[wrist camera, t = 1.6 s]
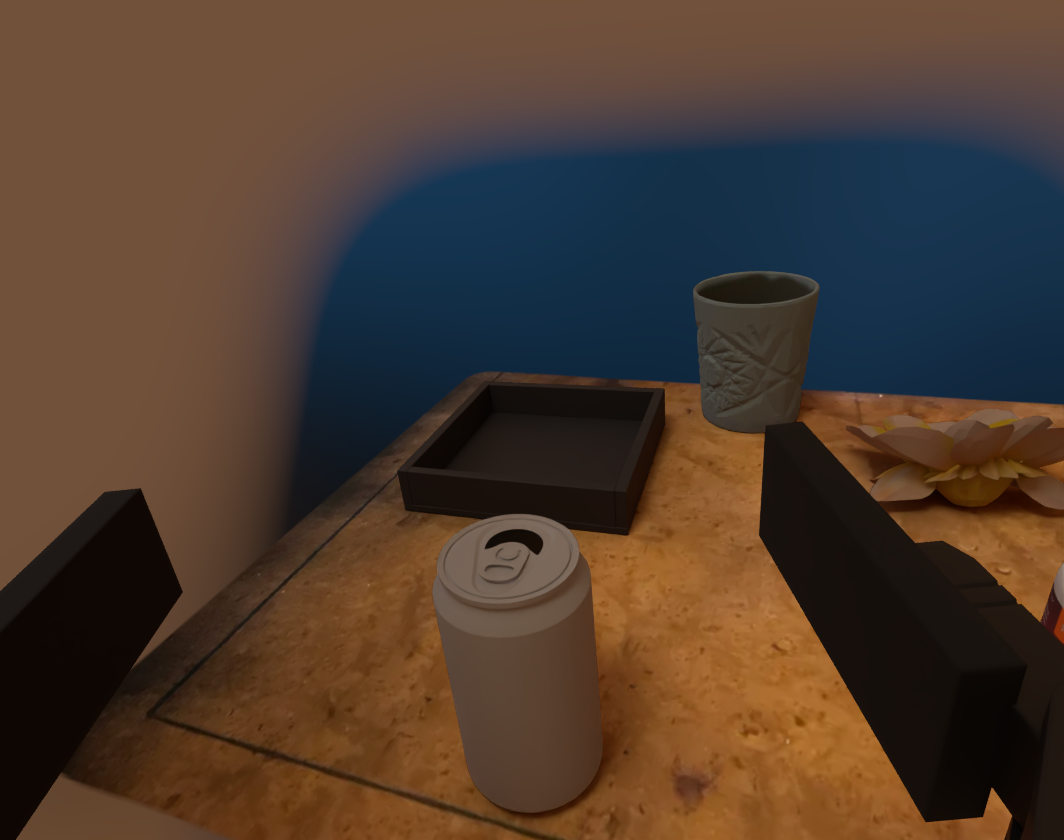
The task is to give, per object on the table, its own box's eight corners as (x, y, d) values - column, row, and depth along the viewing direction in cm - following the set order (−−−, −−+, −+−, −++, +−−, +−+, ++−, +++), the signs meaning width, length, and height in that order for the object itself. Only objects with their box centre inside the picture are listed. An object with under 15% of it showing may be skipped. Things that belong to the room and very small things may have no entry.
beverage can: (614, 714, 33) (603, 512, 28) (587, 840, 28) (566, 618, 23) (494, 693, 35) (463, 500, 30) (446, 807, 30) (398, 595, 24)
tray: (405, 510, 52) (396, 470, 51) (488, 414, 67) (484, 381, 65) (627, 535, 46) (625, 491, 45) (664, 424, 61) (664, 388, 60)
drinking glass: (808, 394, 64) (820, 270, 59) (806, 443, 56) (819, 303, 50) (701, 388, 68) (702, 271, 63) (683, 433, 59) (684, 302, 54)
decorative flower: (1054, 426, 51) (1092, 313, 45) (1122, 541, 42) (1180, 420, 36) (839, 433, 55) (847, 331, 49) (862, 539, 47) (875, 431, 41)
